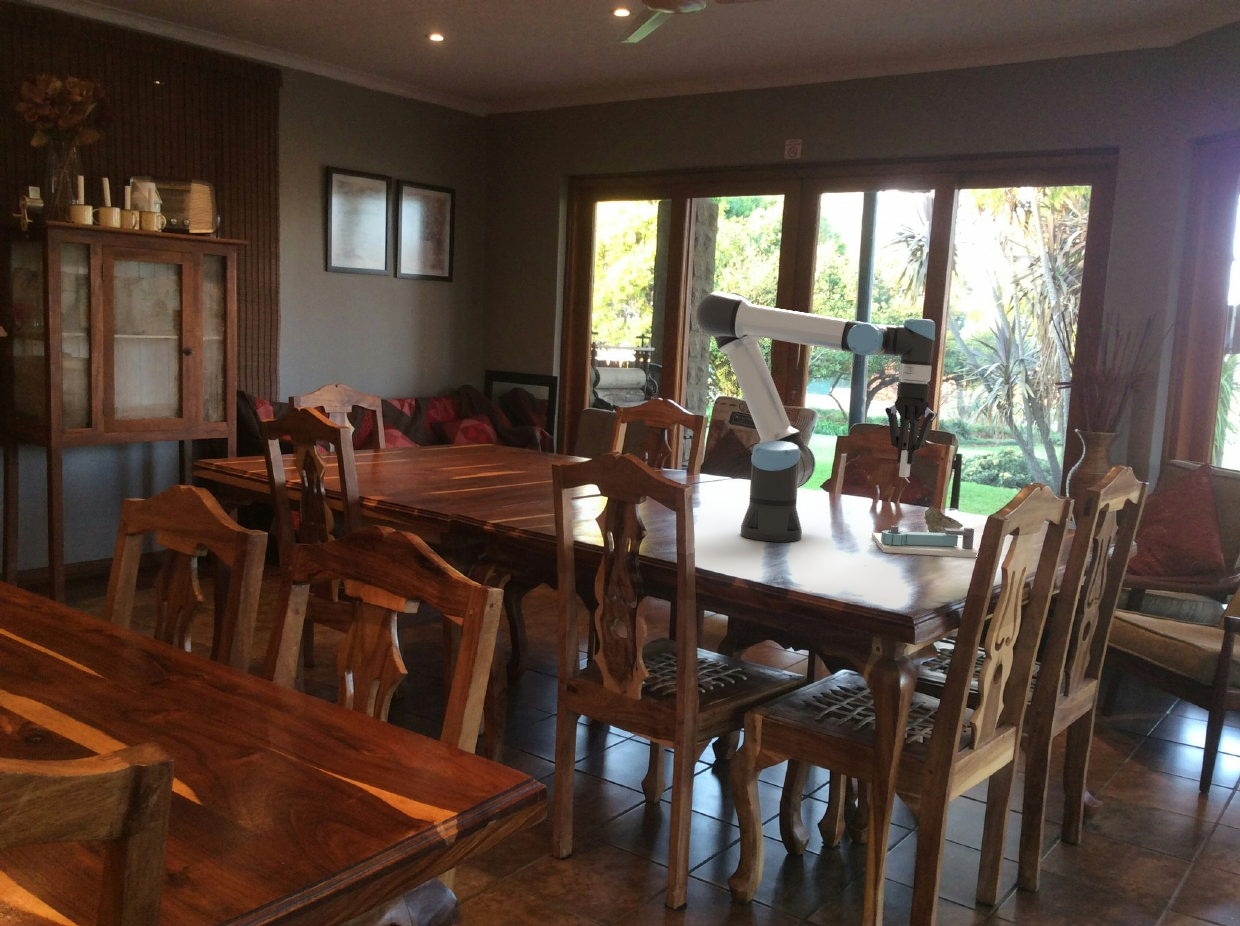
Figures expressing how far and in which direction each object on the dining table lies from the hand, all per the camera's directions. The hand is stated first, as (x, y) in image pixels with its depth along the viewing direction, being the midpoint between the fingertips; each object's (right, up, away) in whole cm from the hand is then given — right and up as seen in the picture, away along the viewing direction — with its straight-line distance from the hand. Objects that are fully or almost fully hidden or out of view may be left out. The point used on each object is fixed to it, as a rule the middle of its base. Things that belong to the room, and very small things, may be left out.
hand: (904, 476), depth 267 cm
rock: (+13, -16, +10) cm, 23 cm away
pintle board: (+4, -17, -4) cm, 18 cm away
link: (+1, -16, -8) cm, 18 cm away
